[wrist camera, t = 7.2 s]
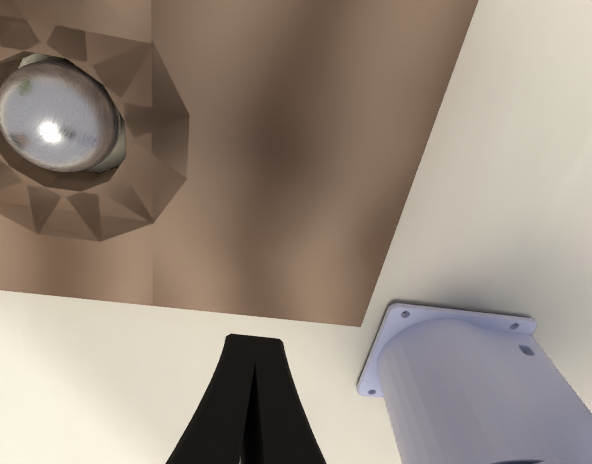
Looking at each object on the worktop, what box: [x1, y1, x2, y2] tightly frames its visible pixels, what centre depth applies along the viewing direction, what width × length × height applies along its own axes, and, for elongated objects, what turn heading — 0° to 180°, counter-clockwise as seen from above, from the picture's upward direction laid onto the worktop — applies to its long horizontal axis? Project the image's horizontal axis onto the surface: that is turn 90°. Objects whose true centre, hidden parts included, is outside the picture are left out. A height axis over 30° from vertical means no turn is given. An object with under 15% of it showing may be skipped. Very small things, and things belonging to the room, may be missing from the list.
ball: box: [0, 61, 121, 172], centre depth 15 cm, size 4×4×4 cm
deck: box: [0, 0, 478, 327], centre depth 16 cm, size 20×17×2 cm
